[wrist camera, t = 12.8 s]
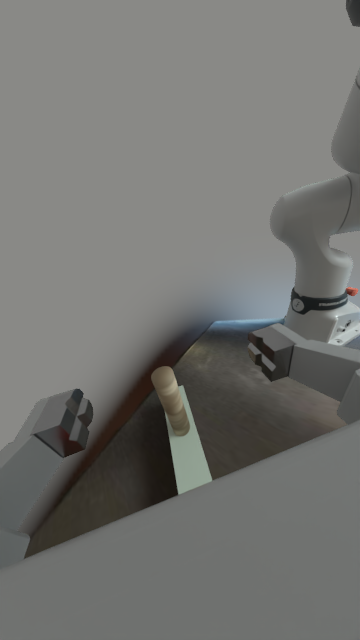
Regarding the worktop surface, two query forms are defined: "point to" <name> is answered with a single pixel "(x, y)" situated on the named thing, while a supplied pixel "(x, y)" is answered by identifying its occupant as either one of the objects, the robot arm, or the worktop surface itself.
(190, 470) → the pale mint rectangular block
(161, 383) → the dowel
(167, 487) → the worktop surface
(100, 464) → the worktop surface
